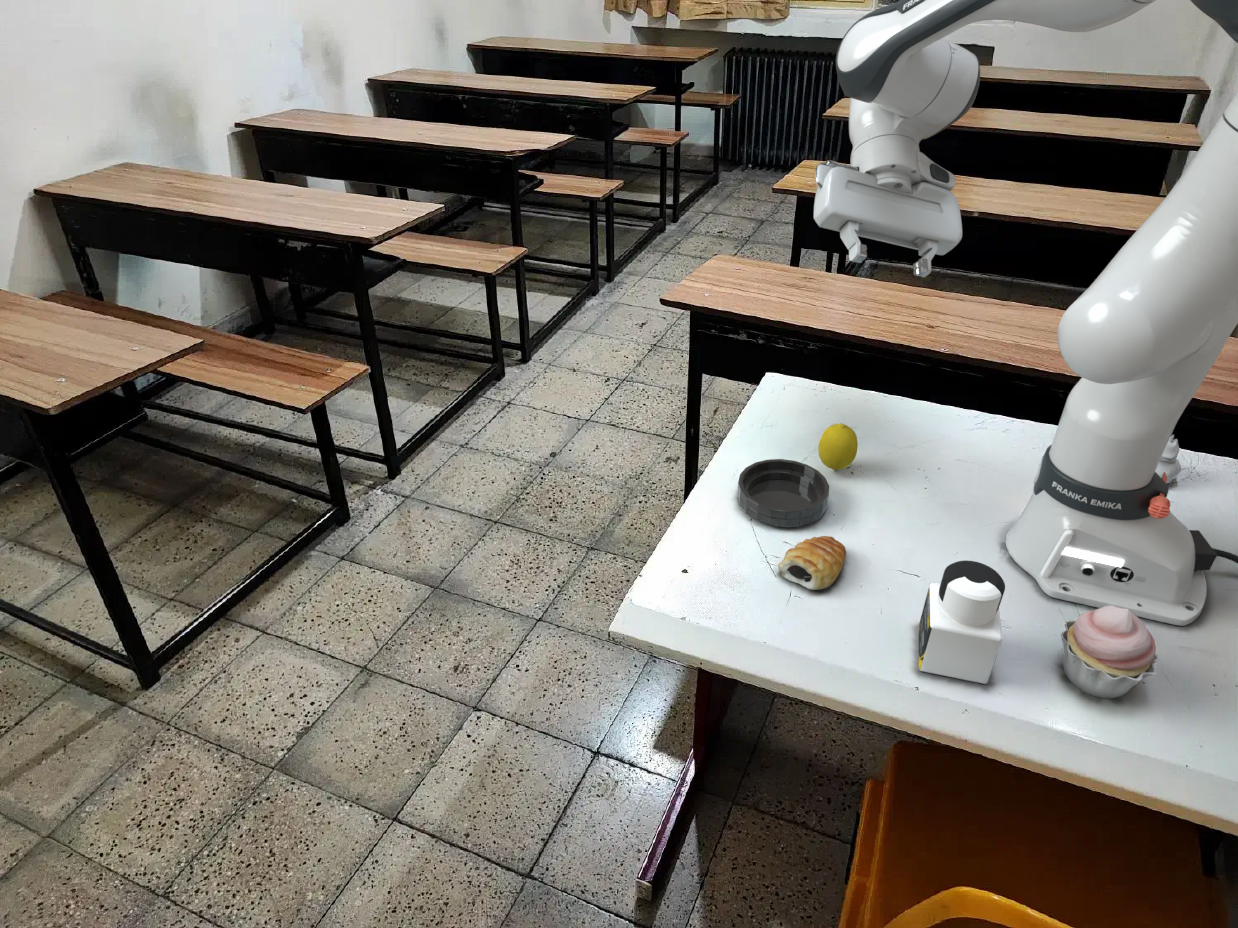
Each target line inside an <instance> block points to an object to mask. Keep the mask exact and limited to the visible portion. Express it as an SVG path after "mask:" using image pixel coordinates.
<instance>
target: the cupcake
mask: <svg viewBox="0 0 1238 928" xmlns="http://www.w3.org/2000/svg"><path fill="white" fill-rule="evenodd" d="M1064 629H1065V630H1063V631H1061V633H1060V638H1061V642H1062V647H1063V663H1062V665H1063V670H1064V674H1065V676H1066V678H1067V679H1068V680H1069V681H1070V683H1072V685H1073V686H1075V687H1076V688H1077V689H1079V690H1080V691H1081V692H1084V693H1086V694H1087V695H1090V696H1092V697H1096V698H1101V699H1107V700H1108V699H1117V698H1120V697H1122V696H1124V695H1125V694H1126V693H1127V692H1129V691H1130V690H1131V689H1132V688H1133V687H1134V686H1135V685H1136V684H1138V683H1139V682H1140V681H1141V680H1143V679H1146V678H1148V677H1151V676H1153V675H1156V674H1157V673H1158V672H1157V668H1156V667H1155V664H1156V663H1157V662H1158V661H1160V659H1161V657H1160V656H1159V654H1157V644H1156V640H1155V638H1154V636H1153V635H1152V633H1151V631H1149V629H1148V628H1147V626H1146V625H1145V623H1144V622H1143V621H1142V619H1140V617H1138V616H1136V615H1134V614H1133V613H1131V612H1130V611H1129V609H1122V608H1119V607H1117V606H1113V605H1109V606H1104V607H1102V608H1097V609H1092V610H1089V611H1085V612H1083V613H1082V614H1080V615H1079V616H1078V617H1077V618H1076V619H1074V620H1073V619H1072V620H1071V619H1070V620H1069V619H1068V620H1065V621H1064Z"/></svg>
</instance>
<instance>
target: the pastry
mask: <svg viewBox="0 0 1238 928" xmlns="http://www.w3.org/2000/svg"><path fill="white" fill-rule="evenodd" d="M846 555H847V550H846V547H845V545H844V544H843V543H842V542H840V541H839V540H837V539H835V537H834V536H830V535H829V536H828V535H822V536H813V537H811V538H805V539H804V540H803V541H801V542H798V543H796V544H795V546H794V547H791V548H789V549H788V550H787V551H786V552H785V555H784V557H783V559H782V561H781V562H779V563H778V566H777V567H778V571H779V572H780V573H781V576H782V577H783V578H784V579H786V580H788V581H790V582H792V583H794V584H797V585H801V586H803V587H804V588H806V589H808V590H811V591H815V590H819V591H820V590H823V589H827V588H829V587H831V585H832V584H833V583H835V581H836V579H837V577H838V576H839V575H840V574H841V571H842V568H843V566H844V564H845V561H846Z"/></svg>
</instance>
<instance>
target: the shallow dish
mask: <svg viewBox="0 0 1238 928" xmlns="http://www.w3.org/2000/svg"><path fill="white" fill-rule="evenodd" d="M736 492H737V493H736V498H737V502H738V505H739V507H740V508H741V509H742V510H743V512H744V513H745V514H746V515H748V516H749V517H750V518H752V519H754V520H756V521H758V522H761V523H763V524H766V525H768V526H774V527H780V528H794V527H802V526H805V525H809V524H812V523H815V522H816V521H817V520H819V519H821V518H822V517H823V515H824V514H825V512H826V511H827V509H828V502H829V496H830V484H829V482H828V480H827V478H826V476H824V475H823V474H822V472H820V471H819V470H818V469H817V468H814V467H813V466H811V465H808V464H807V463H804V462H801V461H797V460H791V459H784V458H771V459H763V460H761V461H755V462H753V463H752V464H750V465H748V466H747V467H745V468H744V469H743V470H742V471H741V472H740V474H739V477H738V482H737V491H736Z"/></svg>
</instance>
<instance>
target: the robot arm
mask: <svg viewBox="0 0 1238 928" xmlns="http://www.w3.org/2000/svg"><path fill="white" fill-rule="evenodd" d="M1156 1H1157V0H898V1H896V2H894V3H891V4H888V5H886V6H882V7H879V8H877V9H875V10H872V11H870V12H868V13H867V14H865V15H864V16H862V17H861V18H859V19H858V20H857V21H856V22H855V23H853V24H852V25H851V26H850V27H849V28H848V30H847V31H846V33H845V34H844V35H843V37H842V39H841V41H840V42H839V45H838V48H837V51H836V56H835V70H836V75H837V79H838V82H839V85H840V88H841V90H842V92H843V95H844V96H846V97H847V98H850V99H849V108H848V135H849V140H850V142H851V144H852V150H851V153H850V157H849V158H850V163H849V164H846V163H841V162H837V161H835V160H830V159H828V160H826V161H824V162H820V163H818V164H817V165H816V168H815V171H814V175H815V180H814V181H815V184H816V186H817V187H816V190H815V196H814V202H813V203H814V204H813V220H814V221H815V223H816V224H817V226H818V227H819V228H823V229H827V230H831V231H835V232H839V238H840V239H841V241H842V243H843V244H844V246H845V247H846V249H847V250H848V260H849V262H853V263H859V264H861V263H863V261H865V260H866V259H867V258H868V252H867V250H868V247H867V246H868V245H867V244H863V243H862V242H861V240H860V238H865V239H869V240H874V241H878V242H882V243H886V244H891V245H895V246H899V247H903V248H908V249H912V250H916V251H918V256H920V257H921V258H919V259H918V260H917V261H915V262H914V263H913V264H912V269H913V272H912V273H913V274H912V275H913V276H915V277H920V278H926V277H927V276H929V275H930V274H931V273H932V260H933V258H934V257H935V255H937V256H944V255H946V254H947V253H949V252H950V251H952V250H953V249H954V248H955V247H957V245H959V244H960V242H961V240H962V238H963V222H962V215H961V214H962V213H961V210H960V204H959V201H958V198H957V196H956V195H955V194H954V193H953V192H952V190H953V189H954V188H955V186H956V177H955V174H953V173H952V172H951V171H949V170H947V169H945V168H944V167H942V166H940V165H939V164H937V163H935V162H934V161H933V160H932V159H931V158H929V157H928V156H927V155H926V154H925V153H923V152H921V151H920V142H921V141H922V140H927V139H930V138H932V137H934V136H935V135H937V134H939V133H940V132H942V131H944V130H945V129H947V128H948V127H950V126H952V125H953V124H955V123H957V122H958V121H959V120H961V118H963V117H964V116H965V115H967V113H968V112H969V111H970V110H971V108H972V107H973V104H974V103H975V100H976V97H977V94H978V90H979V88H980V82H981V66H980V62H979V58H978V56H977V55H976V54H975V53H973V52H971V51H970V50H968V49H967V48H965V47H963V46H961V45H960V44H957V43H955V42H953V41H951V40H949V39H947V38H945V37H947V36H949V35H950V34H951V35H952V33H954V32H956V31H958V30H960V29H962V28H964V27H965V26H968V25H971V24H974V23H978V22H983V21H1009V22H1010V21H1011V22H1019V23H1025V24H1031V25H1035V26H1041V27H1044V28H1047V29H1048V28H1049V29H1054V30H1056V31H1061V32H1070V33H1087V32H1092V31H1095V30H1099V29H1102V28H1105V27H1108V26H1110V25H1113V24H1116V23H1118V22H1121V21H1122V20H1125V19H1127V18H1129V17H1130V16H1132V15H1134V14H1136V13H1137V12H1140V11H1141V10H1143V9H1144V8H1146V7H1147V6H1149V5H1150V4H1152V3H1154V2H1156ZM1189 1H1190V2H1191V3H1192V4H1193V5H1194V6H1195V7H1196V8H1197V9H1198V10H1200V11H1201V12H1202V13H1203V14H1205V15H1206V16H1207V17H1209V18H1210V19H1212V20H1213V21H1214V22H1216V23H1217V25H1219V26H1220V28H1221V29H1222V30H1223V31H1224V32H1225V33H1226V34H1227V35H1228V36H1229V37H1230V38H1231V39H1232V40H1233V41H1234V42H1235V43H1237V44H1238V0H1189ZM859 237H860V238H859ZM1059 320H1060V321H1059V323H1058V326H1057V327H1058V328H1057V334H1056V335H1057V345H1058V349H1059V353H1060V355H1061V357H1062V359H1063V360H1064V362H1065V364H1066V365H1067V366H1068V367H1069V368H1070V369H1071V370H1072V371H1073V372H1074V373H1075V374H1077V375H1078V376H1079V377H1081V378H1079V381H1077V382H1076V383H1075V385H1074V386H1073V388H1072V389H1071V390H1070V392H1069V394H1068V395H1067V398H1066V401H1065V403H1064V407H1063V410H1062V413H1061V416H1060V418H1059V422H1058V425H1057V427H1056V430H1055V433H1054V437H1053V439H1052V442H1051V444H1049V445H1048V446H1047V448H1046V450H1045V452H1044V454H1043V455H1042V457H1041V459H1040V462H1039V465H1038V468H1037V471H1036V474H1035V477H1034V481H1033V492H1032V494H1031V496H1030V498H1029V500H1028V502H1027V503H1026V506H1025V507H1024V508H1023V511H1022V512H1021V514H1020V515H1019V517H1018V518H1017V520H1016V521H1015V522H1014V524H1012V526H1011V527H1010V528H1009V529H1008V531H1007V533H1006V535H1005V547H1006V549H1007V552H1008V553H1009V555H1010V557H1011V558H1012V559H1013V561H1014V562H1015V563H1016V564H1017V565H1018V566H1019V567H1021V569H1023V570H1024V571H1025V572H1027V573H1028V574H1029V575H1030V576H1031V577H1032V578H1034V579H1035V581H1036V582H1037V584H1038V586H1039V587H1040V589H1041V590H1042V591H1043V593H1044V594H1045V595H1047V596H1049V597H1051V598H1054V599H1058V600H1062V601H1066V602H1071V603H1075V604H1079V605H1085V606H1089V607H1093V608H1097V609H1099V608H1102V607H1104V606H1109V605H1113V606H1117V607H1119V608H1122V609H1129V611H1130V612H1131V613H1133V614H1134V615H1136V616H1137V617H1138V618H1143V619H1147V620H1151V621H1156V622H1160V623H1165V624H1169V625H1174V626H1180V627H1183V626H1187V625H1189V624H1192V623H1193V622H1194V621H1195V620H1197V618H1199V616H1200V615H1201V613H1202V610H1203V608H1204V606H1205V603H1206V598H1207V589H1208V588H1207V587H1208V586H1207V580H1206V575H1205V573H1204V571H1207V572H1209V571H1210V570H1211V568H1212V566H1213V565H1214V562H1215V560H1216V558H1217V557H1220V558H1222V559H1227V560H1228V561H1232V562H1233V563H1236V564H1237V565H1238V555H1237V554H1235V553H1232V552H1230V551H1227V550H1226V551H1225V550H1222V549H1217V548H1213V547H1212V546H1211V544H1210V543H1209V541H1208V540H1207V539H1206V537H1205V536H1204V535H1203V534H1202V532H1201V531H1200V530H1198V529H1189V528H1188V527H1187V526H1186V525H1185V523H1183V522H1182V521H1181V520H1180V519H1179V518H1178V517H1177V516H1176V515H1175V514H1174V513H1173V512H1172V511H1171V508H1170V507H1171V501H1170V499H1168V495H1169V491H1170V489H1169V488H1170V487H1169V486H1170V485H1168V483H1166V482H1167V477H1166V473H1165V472H1164V473H1163V476H1162V478H1161V477H1160V476H1159V475H1158V474H1157V473H1156V472H1155V470H1156V468H1157V466H1158V464H1159V461H1160V459H1161V457H1162V454H1163V452H1164V450H1165V448H1166V445H1167V443H1168V441H1169V439H1170V437H1171V436H1172V435H1173V432H1174V430H1175V427H1176V425H1177V424H1178V421H1179V420H1180V418H1181V416H1182V414H1183V413H1184V411H1185V409H1186V408H1187V406H1188V405H1189V404H1190V402H1191V400H1192V399H1193V397H1194V396H1195V394H1196V393H1197V391H1198V390H1199V388H1200V387H1201V385H1202V383H1203V382H1204V380H1205V379H1206V377H1207V375H1208V374H1209V372H1210V370H1211V369H1212V367H1213V365H1214V364H1215V362H1216V361H1217V359H1218V357H1219V356H1220V355H1221V352H1222V350H1223V348H1224V346H1225V345H1226V343H1227V341H1228V340H1229V338H1230V337H1231V335H1232V333H1233V331H1234V330H1235V328H1236V326H1237V325H1238V92H1237V93H1236V94H1235V95H1234V97H1233V98H1232V100H1231V101H1230V103H1228V106H1227V107H1226V108H1225V110H1224V112H1223V113H1222V115H1221V116H1220V117H1219V119H1218V120H1217V122H1216V123H1215V125H1214V127H1213V128H1212V129H1211V130H1210V133H1208V135H1207V137H1206V138H1205V140H1204V141H1203V143H1202V144H1201V146H1200V147H1199V149H1198V151H1197V152H1196V154H1195V155H1194V156H1193V158H1192V159H1191V160H1190V162H1189V164H1188V165H1187V167H1186V169H1185V170H1184V172H1183V173H1182V174H1181V176H1180V177H1179V178H1178V180H1177V181H1176V182H1175V184H1174V185H1173V187H1172V189H1170V191H1169V193H1168V194H1167V195H1166V196H1165V198H1164V199H1163V200H1162V201H1161V203H1160V204H1159V205H1158V206H1157V207H1156V209H1154V211H1153V212H1152V213H1151V214H1150V215H1149V216H1148V217H1147V219H1145V220H1144V222H1143V223H1142V224H1141V225H1140V226H1139V227H1138V229H1137V230H1136V231H1135V232H1134V233H1133V234H1132V235H1131V236H1130V237H1129V239H1128V240H1127V241H1126V243H1125V244H1124V245H1123V246H1122V247H1121V248H1120V249H1119V250H1118V251H1117V253H1116V254H1115V255H1114V257H1113V258H1111V260H1110V262H1108V264H1107V265H1106V266H1105V267H1104V269H1103V270H1102V271H1101V272H1100V274H1099V275H1098V276H1097V278H1095V279H1094V281H1093V282H1092V283H1091V284H1090V285H1089V287H1087V288H1086V289H1085V290H1084V292H1082V294H1081V295H1079V296H1078V297H1077V299H1076V300H1074V301H1073V302H1072V303H1071V304H1070V306H1068V308H1067V309H1066V310H1065V311H1064V313H1063V314H1062V316H1061V318H1060V319H1059Z"/></svg>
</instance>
